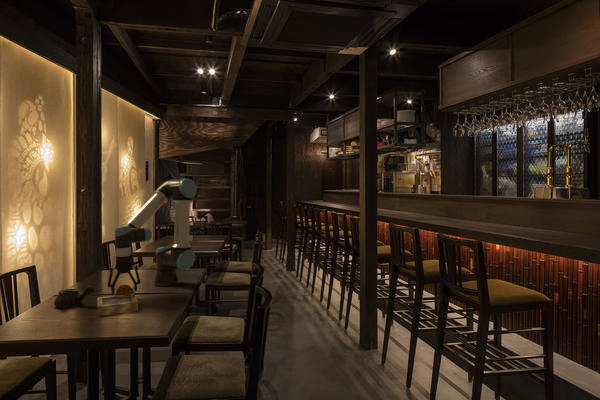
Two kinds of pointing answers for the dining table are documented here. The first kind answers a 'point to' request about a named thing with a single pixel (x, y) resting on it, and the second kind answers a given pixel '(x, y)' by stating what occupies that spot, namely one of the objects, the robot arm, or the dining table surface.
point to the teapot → (71, 297)
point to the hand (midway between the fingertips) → (124, 298)
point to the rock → (124, 290)
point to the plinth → (117, 304)
